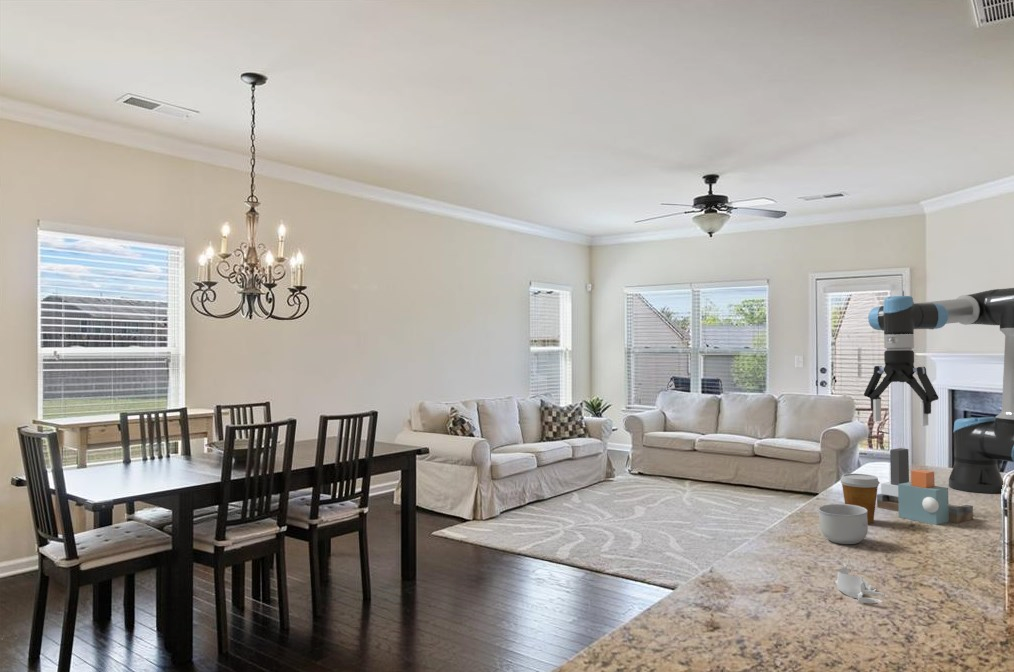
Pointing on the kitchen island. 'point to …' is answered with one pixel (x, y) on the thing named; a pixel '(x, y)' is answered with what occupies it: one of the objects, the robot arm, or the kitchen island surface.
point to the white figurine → (855, 586)
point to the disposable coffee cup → (861, 492)
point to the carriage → (897, 471)
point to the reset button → (922, 478)
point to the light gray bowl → (843, 523)
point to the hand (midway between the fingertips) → (900, 423)
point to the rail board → (896, 508)
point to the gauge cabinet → (923, 503)
